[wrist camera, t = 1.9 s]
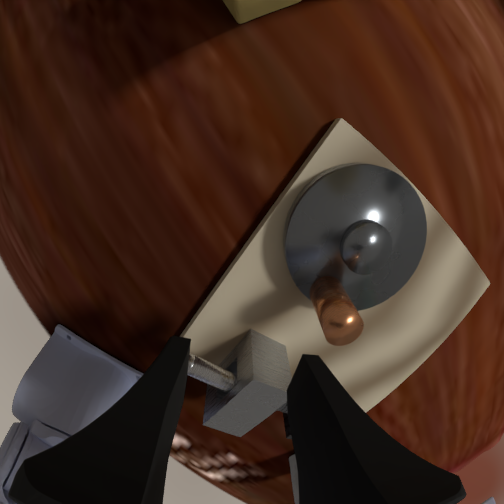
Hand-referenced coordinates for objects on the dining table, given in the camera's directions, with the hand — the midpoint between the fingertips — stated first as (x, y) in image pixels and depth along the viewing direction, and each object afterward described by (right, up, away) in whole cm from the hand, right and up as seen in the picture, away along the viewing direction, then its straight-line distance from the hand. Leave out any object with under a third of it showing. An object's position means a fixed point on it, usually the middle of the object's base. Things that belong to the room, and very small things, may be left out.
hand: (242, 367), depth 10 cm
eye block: (0, -4, +12) cm, 12 cm away
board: (+8, -1, +11) cm, 13 cm away
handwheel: (+7, +5, +7) cm, 11 cm away
